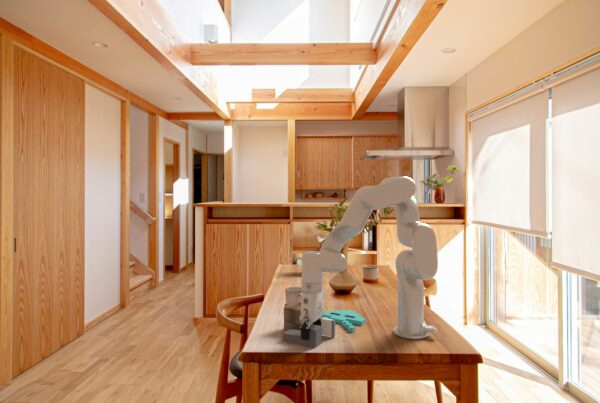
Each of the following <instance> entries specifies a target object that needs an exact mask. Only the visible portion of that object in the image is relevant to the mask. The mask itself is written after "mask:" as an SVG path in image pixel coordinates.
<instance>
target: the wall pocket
mask: <svg viewBox="0 0 600 403" xmlns="http://www.w3.org/2000/svg"><path fill="white" fill-rule="evenodd" d="M300 316H301V305H297V304H292V303H290V304H288V305H286V306H284V307H283V332H285V331H287V330H288V329H294V330H299V331H301V328H300V321H299V318H300Z"/></svg>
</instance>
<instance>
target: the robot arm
mask: <svg viewBox="0 0 600 403" xmlns="http://www.w3.org/2000/svg"><path fill="white" fill-rule="evenodd" d="M416 189H417V186H416V182H415V180H413V179H412V178H411V177H408V176H405V175H404V176H403V175H402V176H401V175H400V176H392V177H386V178H383V179H381V181H380V183H379V184H376V185H364V186H362V187H360V188H358V189H357V190H356V192H355V193H354V195H353V197H352V199H351V200H350V203H349V204H348V206H347V208H346V210H345V211H344V214H343V216H342V218H341V219H340V221H339V222H338V223H337V224H336V225H335V226H334V228H333V229H332V230H331V231H330V232H329V233H328V235H327V237H326V238H325V240H324V241H323V243H322V245H321V247H320V249H319V250H320V251H306V252H304V253H302V255H301V289H300V291H301V300H300V301H301V304H300V306H301V316H300V318H299V321H300V328H301V339H302V340H307V341H309V340H310V329H309V326H310V323H311V322H313V325H318V326H321V320H322V316H323V314H324V311H325V310H324V305H325V304H324V299H323V290H324V287H323V286H324V280H323V279H324V273H331V274H339V273H342V272H343V271H344V270H346V268H347V265H348V259H347V257H346V256H345V255H344V254H343V253H342V252H341V251H342V249H343V247H345V245H346V243H347V242H348V241H349V240H351V239H353V238H354V237H356V236H358V235H360V234H361V233H362V232H363V231H364V228H365V227H366V224H367V223H368V221H369V218H370V216H371V215H372V213H373V211H377V210H378V211H379V210H383V209H387V208H389V207H392V206H393V207H394V208H393V209H394V211H395V219H396V233H397V234H396V237H397V240H398V242H399V243H400V245H402V246H405V247H408V248H411V249H404V250H402V251H400V252H399V253H398V254H397V255H396V258H395V271H396V277H397V278H396V279H397V325H396V326H394V327H393V329H392V330H393V333H394V334H395V335H396V336H398V337H400V338H404V339H407V340H409V339H410V340H421V339H425V338H427V337H428V336H429V333H431V334H436V333H437V327H434V326H433V325H427V324H426V321H425V320H424V319H425V313H424V312H425V306H424V304H425V302H424V300H425V284H424V281H429V280H431V279H433V278H434V277H435V276H436V274H437V272H438V267H439V266H438V265H439V262H438V261H439V260H438V259H439V257H438V246H437V245H438V244H437V241H438V240H437V236H436V232H435V230H434V229H433V227H432V226H430V225H429V224H427V223H424V222H421V218H420V217H421V216H420V210H419V204H418V202H417V199H416V198H415V196H414V195H415V193H416V191H417V190H416ZM305 322H308V323H307V324H306V323H305Z"/></svg>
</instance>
